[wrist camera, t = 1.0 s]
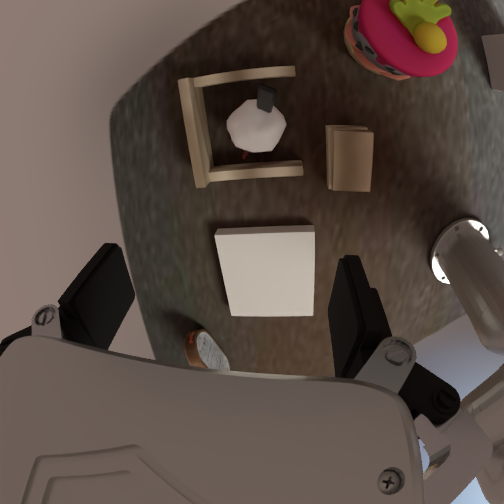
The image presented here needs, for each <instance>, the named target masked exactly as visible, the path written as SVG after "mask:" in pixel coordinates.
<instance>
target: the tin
mask: <svg viewBox="0 0 504 504" xmlns="http://www.w3.org/2000/svg"><path fill="white" fill-rule="evenodd" d="M184 349H185V354H186V357H187V360H188V362H189V364H190V365H191V366H195V367H202V368H210V369H218V370H227V371H231V368H230V364H229V361H228V358H227V356H226V355H225V353H224V352H223V351H222V349H221V348H220V347H219V345H218V344H217V343H216V341H215V340H214V339H213V337H212V336H211V334H210V333H209V332H208V331H207V330H205V329H197V330H190V331H189V332H188V333H187V334H186V336H185V340H184Z"/></svg>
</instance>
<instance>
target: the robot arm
mask: <svg viewBox="0 0 504 504" xmlns="http://www.w3.org/2000/svg"><path fill="white" fill-rule="evenodd" d="M502 254H503V250H502V248H494V247H493V246H492V244H491V243H490V242H489V234H488V231H487V229H486V227H485V226H484V225H483V224H482V223H481V222H480V221H479V220H477V219H474V218H461V219H459V220H456V221H454V222H453V223H451V224H450V225H448V226H447V227H446V228H445V229H444V230H443V231H442V232H441V233H440V235H439V236H438V238H437V239H436V241H435V243H434V245H433V247H432V251H431V255H430V266H431V269H432V271H433V273H434V275H435V276H436V278H437V279H438V280H440V281H441V282H444V283H449V284H450V285H451V286H452V288H453V290H454V292H455V293H456V295H457V297H458V299H459V300H460V302H461V304H462V306H463V308H464V310H465V312H466V314H467V315H468V317H469V319H470V321H471V323H472V325H473V327H474V329H475V331H476V333H477V336H478V338H479V340H480V342H481V343H482V345H483V346H484V347H485V348H486V349H487V350H489V351H491V352H493V353H496V354H500V355H504V261H503V259H502V258H501V257H500V256H502ZM134 298H135V292H134V289H133V285H132V282H131V279H130V276H129V273H128V269H127V266H126V263H125V260H124V256H123V252H122V249H121V247H119V246H118V245H117V244H116V243H105V244H103V246H102V247H101V248H100V249H99V250H98V251H97V252H96V254H95V255H94V256H93V257H92V258H91V260H90V261H89V262H88V263H87V264H86V266H85V267H84V268H83V269H82V270H81V272H80V273H79V274H78V275H77V277H76V278H75V279H74V280H73V282H72V283H71V284H70V286H69V287H68V288H67V289H66V291H65V292H64V294H63V295H62V296H61V297H60V299H59V300H58V303H59V304H60V307H59V308H57V307H56V306H55V305H45V306H43V307H41V308H40V309H38V310H37V311H36V312H35V314H34V316H33V318H32V325H31V326H29V327H27V328H25V329H23V330H21V331H19V332H16V333H14V334H12V335H10V336H8V337H6V338H5V339H3V340H2V342H1V344H0V504H450V503H451V502H452V501H453V500H454V499H455V498H456V497H457V496H458V495H459V494H460V493H461V492H462V491H463V490H464V489H465V488H466V487H467V486H468V484H469V483H470V482H471V481H472V480H473V479H474V478H475V476H476V478H477V480H478V482H479V485H480V487H481V490H482V492H483V494H484V496H485V498H486V500H487V501H488V502H489V503H490V504H504V364H503V365H502V366H501V367H500V368H499V369H498V370H497V371H496V372H495V373H493V374H492V375H491V376H490V377H489V378H488V379H486V380H485V381H484V382H483V383H482V384H480V385H479V386H478V387H477V388H475V389H474V390H473V391H472V392H470V393H469V394H468V395H467V396H465V398H463V399H462V401H461V402H460V397H459V394H458V392H457V391H456V389H455V388H453V387H452V386H451V385H449V384H448V383H446V382H445V381H443V380H442V379H440V378H439V377H437V376H436V375H434V374H433V373H431V372H430V371H428V370H427V369H425V368H424V367H422V366H421V365H419V364H418V363H416V362H415V361H416V351H415V349H414V347H413V346H412V344H411V343H410V342H408V341H407V340H406V339H403V338H401V337H396V336H393V337H392V334H391V330H390V327H389V324H388V321H387V318H386V315H385V312H384V309H383V306H382V303H381V300H380V297H379V294H378V292H377V290H376V289H375V288H370V286H369V283H368V280H367V277H366V274H365V271H364V269H363V266H362V263H361V260H360V258H359V256H357V255H345V256H344V258H340V259H339V262H338V267H337V271H336V276H335V281H334V285H333V289H332V294H331V298H330V302H329V306H328V318H329V326H330V333H331V341H332V350H333V358H334V367H335V377H320V376H295V375H277V374H261V373H248V372H237V371H227V370H218V369H210V368H202V367H195V366H188V365H181V364H175V363H168V362H163V361H157V360H151V359H146V358H141V357H136V356H131V355H126V354H122V353H117V352H113V351H109V350H108V348H109V346H110V344H111V342H112V340H113V338H114V336H115V334H116V333H117V330H118V329H119V327H120V325H121V323H122V321H123V319H124V317H125V316H126V314H127V312H128V310H129V308H130V306H131V304H132V303H133V301H134ZM418 439H421V440H422V442H423V443H424V444H425V446H424V448H425V450H426V451H427V453H428V455H429V459H430V463H429V466H428V468H427V470H426V471H425V472H424V473H423V470H422V461H421V454H420V447H419V441H418ZM383 471H384V472H383ZM381 472H382V473H381Z"/></svg>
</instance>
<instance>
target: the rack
mask: <svg viewBox="0 0 504 504" xmlns="http://www.w3.org/2000/svg"><path fill="white" fill-rule="evenodd" d="M295 76H296V74H295V66H279V67H266V68H255V69H247V70H239V71H231V72H225V73H218V74H212V75H207V76H201V77H196V78H184V79H180V80H178V85H179V92H180V99H181V105H182V111H183V117H184V123H185V129H186V135H187V141H188V146H189V152H190V157H191V163H192V168H193V173H194V179H195V184H196V188H201V187H206V186H207V185H208V183H209V182H212V181H223V180H235V179H248V178H263V177H282V176H303V164H302V160H291V161H272V162H257V163H244V164H232V165H222V166H214V162H213V155H212V149H211V143H210V137H209V130H208V124H207V117H206V110H205V104H204V97H203V90H202V87H206V86H212V85H218V84H224V83H231V82H239V81H247V80H256V79H267V78H280V77H295Z"/></svg>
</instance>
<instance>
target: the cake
mask: <svg viewBox="0 0 504 504" xmlns="http://www.w3.org/2000/svg"><path fill="white" fill-rule="evenodd" d="M437 1H438V0H362V2H361V4H360V5H355V6H352V7H350V12H349V14H350V17H349V18H348V20H347V21H346V22H345V26H344V30H343V36H344V43H345V46H346V48H347V50H348V52H349V54H350V55H351V56H352V58H353V59H354V60H355V61H356V63H358V64H359V65H360V66H362V67H363V68H364V69H366V70H367V71H370V72H372V73H375V74H377V75H383V76H386V77H388V78H391V79H395V80H399V81H400V80H403V79H407V78H410V77H419V78H420V77H428V76H435V75H438V74H440V73H442V72H444V71H445V70H447V69H448V68H449V67H450V66H451V64H452V63H453V61H454V59H455V57H456V54H457V47H458V42H457V34H456V31H455V27H454V25H453V23H452V20H451V19H450V17H449V15H450V14H451V8H450V7H449V6H448V5H446V4H444V3H438V2H437Z"/></svg>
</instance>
